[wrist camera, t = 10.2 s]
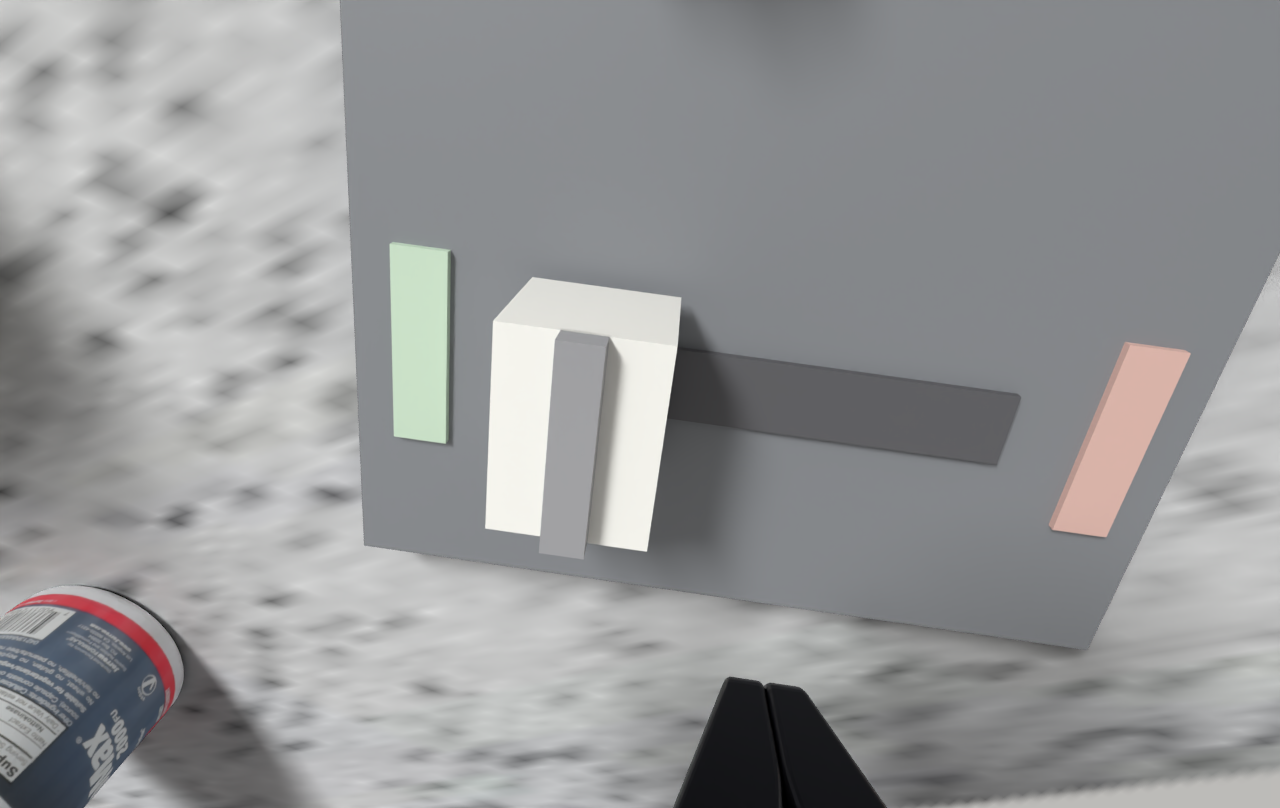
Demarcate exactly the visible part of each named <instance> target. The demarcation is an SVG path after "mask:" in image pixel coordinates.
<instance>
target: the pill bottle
mask: <svg viewBox="0 0 1280 808" xmlns="http://www.w3.org/2000/svg"><path fill="white" fill-rule="evenodd" d="M183 679H184V669H183V663H182V659H181V655H180V653H179V650H178V648H177V646H176V644H175V642H174V641H173V639H172V637H171V636H170V635H169V633H168V632H167V631H166V630H165V628H164V627H163V626H162V625H161V624H160V623H159V622H158V621H157V620H156V619H155V618H154V617H152V616H151V615H150V614H149V613H148V612H146V611H145V610H144V609H142V608H141V607H139V606H138V605H136V604H134V603H133V602H131V601H129V600H127V599H125V598H123V597H121V596H119V595H116V594H114V593H111V592H108V591H105V590H101V589H97V588H93V587H87V586H78V585H67V586H58V587H52V588H49V589H45V590H43V591H40V592H38V593H36V594H34V595H32V596H30V597H29V598H27V599H26V600H25V601H23V602H22V603H20V604H19V605H17V606H16V607H14V608H13V609H11V610H10V611H9V612H7V613H6V614H5V615H4V616H3V617H1V618H0V808H84V807H85V806H86V805H87V804H88V802H89V801H90V800H91V799H92V798H93V797H94V795H95V794H96V793H97V792H98V791H99V790H100V788H101V787H102V786H103V785H104V784H105V782H106V781H107V780H108V779H109V778H110V777H111V775H112V774H113V773H114V772H115V771H116V770H117V769H118V767H119V766H120V765H121V764H122V763H123V762H124V760H125V759H126V758H127V757H128V756H129V755H130V754H131V752H132V751H133V750H134V749H135V748H136V747H137V746H138V744H139V743H140V742H141V741H142V740H143V739H144V738H145V737H146V735H147V734H148V733H149V732H150V731H151V730H152V729H153V728H154V726H155V725H156V724H157V723H158V722H159V720H160V719H161V718H162V717H163V716H164V714H165V713H166V712H167V711H168V710H169V708H170V707H171V706H172V705H173V703H174V702H175V701H176V699H177V697H178V696H179V693H180V691H181V688H182V684H183Z"/></svg>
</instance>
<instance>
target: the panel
mask: <svg viewBox="0 0 1280 808" xmlns="http://www.w3.org/2000/svg"><path fill="white" fill-rule="evenodd" d="M340 16H341V38H342V60H343V83H344V105H345V127H346V150H347V172H348V195H349V217H350V239H351V262H352V284H353V306H354V329H355V351H356V374H357V396H358V418H359V441H360V463H361V486H362V508H363V530H364V545H365V546H372V547H379V548H386V549H392V550H399V551H406V552H413V553H420V554H427V555H434V556H441V557H448V558H455V559H461V560H468V561H475V562H482V563H489V564H496V565H503V566H510V567H517V568H524V569H530V570H537V571H544V572H551V573H558V574H565V575H572V576H579V577H586V578H593V579H599V580H606V581H613V582H620V583H627V584H634V585H641V586H648V587H655V588H662V589H668V590H675V591H682V592H689V593H696V594H703V595H710V596H717V597H724V598H731V599H737V600H744V601H751V602H758V603H765V604H772V605H779V606H786V607H793V608H800V609H806V610H813V611H820V612H827V613H834V614H841V615H848V616H855V617H862V618H869V619H875V620H882V621H889V622H896V623H903V624H910V625H917V626H924V627H931V628H937V629H944V630H951V631H958V632H965V633H972V634H979V635H986V636H993V637H1000V638H1006V639H1013V640H1020V641H1027V642H1034V643H1041V644H1048V645H1055V646H1062V647H1069V648H1075V649H1082V650H1087V649H1088V647H1089V645H1090V643H1091V641H1092V639H1093V637H1094V635H1095V633H1096V631H1097V629H1098V627H1099V625H1100V623H1101V621H1102V619H1103V616H1104V614H1105V612H1106V610H1107V608H1108V606H1109V604H1110V602H1111V600H1112V598H1113V596H1114V594H1115V592H1116V590H1117V588H1118V586H1119V583H1120V581H1121V579H1122V577H1123V575H1124V573H1125V571H1126V569H1127V567H1128V565H1129V563H1130V561H1131V559H1132V557H1133V555H1134V553H1135V550H1136V548H1137V546H1138V544H1139V542H1140V540H1141V538H1142V536H1143V534H1144V532H1145V530H1146V528H1147V526H1148V524H1149V522H1150V520H1151V517H1152V515H1153V513H1154V511H1155V509H1156V507H1157V505H1158V503H1159V501H1160V499H1161V497H1162V495H1163V493H1164V491H1165V489H1166V487H1167V484H1168V482H1169V480H1170V478H1171V476H1172V474H1173V472H1174V470H1175V468H1176V466H1177V464H1178V462H1179V460H1180V458H1181V456H1182V454H1183V451H1184V449H1185V447H1186V445H1187V443H1188V441H1189V439H1190V437H1191V435H1192V433H1193V431H1194V429H1195V427H1196V425H1197V423H1198V421H1199V418H1200V416H1201V414H1202V412H1203V410H1204V408H1205V406H1206V404H1207V402H1208V400H1209V398H1210V396H1211V394H1212V392H1213V390H1214V388H1215V385H1216V383H1217V381H1218V379H1219V377H1220V375H1221V373H1222V371H1223V369H1224V367H1225V365H1226V363H1227V361H1228V359H1229V357H1230V355H1231V352H1232V350H1233V348H1234V346H1235V344H1236V342H1237V340H1238V338H1239V336H1240V334H1241V332H1242V330H1243V328H1244V326H1245V324H1246V322H1247V319H1248V317H1249V315H1250V313H1251V311H1252V309H1253V307H1254V305H1255V303H1256V301H1257V299H1258V297H1259V295H1260V293H1261V291H1262V289H1263V286H1264V284H1265V282H1266V280H1267V278H1268V276H1269V274H1270V272H1271V270H1272V268H1273V266H1274V264H1275V262H1276V260H1277V258H1278V256H1279V253H1280V0H340ZM532 277H535V278H543V279H550V280H557V281H565V282H572V283H579V284H587V285H594V286H601V287H609V288H616V289H623V290H630V291H638V292H645V293H652V294H660V295H667V296H674V297H681V309H680V322H679V335H678V347H677V354H676V360H675V367H674V374H673V380H672V387H671V394H670V400H669V407H668V414H667V421H666V427H665V434H664V441H663V447H662V454H661V461H660V467H659V474H658V481H657V487H656V494H655V501H654V508H653V514H652V521H651V528H650V534H649V541H648V548H647V552H645V551H638V550H631V549H624V548H617V547H610V546H604V545H597V544H590V543H587V547H586V551H585V555H584V559H577V558H570V557H563V556H556V555H549V554H542V553H539V544H540V536H534V535H527V534H520V533H513V532H506V531H499V530H492V529H485V521H486V495H487V468H488V442H489V415H490V389H491V362H492V336H493V320H494V319H495V318H496V317H497V316H498V315H499V314H500V313H501V311H502V310H503V309H504V308H505V307H506V306H507V305H508V304H509V303H510V301H511V300H512V299H513V298H514V297H515V296H516V295H517V294H518V293H519V291H520V290H521V289H522V288H523V287H524V286H525V285H526V284H527V283H528V281H529V280H530V279H531V278H532Z"/></svg>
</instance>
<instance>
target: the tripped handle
mask: <svg viewBox="0 0 1280 808" xmlns="http://www.w3.org/2000/svg"><path fill="white" fill-rule="evenodd" d="M680 309H681V297H674V296H667V295H660V294H652V293H645V292H638V291H630V290H623V289H616V288H609V287H601V286H594V285H587V284H579V283H572V282H565V281H557V280H550V279H543V278H535V277H532V278H531V279H530V280H529V281H528V283H527V284H526V285H525V286H524V287H523V288H522V289H521V290H520V291H519V293H518V294H517V295H516V296H515V297H514V298H513V299H512V300H511V301H510V303H509V304H508V305H507V306H506V307H505V308H504V309H503V310H502V311H501V313H500V314H499V315H498V316H497V317H496V318H495V319H494V320H493V336H492V362H491V389H490V415H489V442H488V468H487V495H486V521H485V529H492V530H499V531H506V532H513V533H520V534H527V535H534V536H540V544H539V553H542V554H549V555H556V556H563V557H570V558H577V559H584V555H585V551H586V547H587V543H590V544H597V545H604V546H610V547H617V548H624V549H631V550H638V551H645V552H647V548H648V541H649V534H650V528H651V521H652V514H653V508H654V501H655V494H656V487H657V481H658V474H659V467H660V461H661V454H662V447H663V441H664V434H665V427H666V421H667V414H668V407H669V400H670V394H671V387H672V380H673V374H674V367H675V360H676V354H677V347H678V335H679V322H680Z"/></svg>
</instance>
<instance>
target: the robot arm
mask: <svg viewBox="0 0 1280 808" xmlns="http://www.w3.org/2000/svg"><path fill="white" fill-rule="evenodd" d="M673 808H887V807H886V806H885V804H884V803H883V802H882V800H881V799H880V797H879V796H878V794H877V793H876V792H875V790H874V789H873V787H872V786H871V784H870V783H869V782H868V780H867V779H866V777H865V776H864V774H863V773H862V772H861V770H860V769H859V767H858V766H857V764H856V763H855V762H854V760H853V759H852V757H851V756H850V754H849V753H848V752H847V750H846V749H845V747H844V746H843V744H842V743H841V742H840V740H839V739H838V737H837V736H836V734H835V733H834V732H833V730H832V729H831V727H830V726H829V724H828V723H827V722H826V720H825V719H824V717H823V716H822V715H821V713H820V712H819V710H818V709H817V707H816V706H815V705H814V703H813V702H812V700H811V699H810V697H809V696H808V695H807V693H806V692H805V691H804V690H803V689H801V688H799V687H795V686H788V685H782V684H775V683H768V684H766V685H765V686H763V685H762V683H760V682H759V681H755V680H749V679H742V678H735V677H728V678H726V679H725V681H724V683H723V685H722V688H721V690H720V693H719V695H718V697H717V700H716V702H715V705H714V707H713V710H712V712H711V715H710V717H709V720H708V722H707V725H706V727H705V730H704V732H703V735H702V737H701V740H700V742H699V745H698V747H697V750H696V752H695V754H694V757H693V759H692V762H691V764H690V767H689V769H688V772H687V774H686V777H685V779H684V782H683V784H682V787H681V789H680V792H679V794H678V797H677V799H676V802H675V804H674V807H673Z"/></svg>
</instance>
